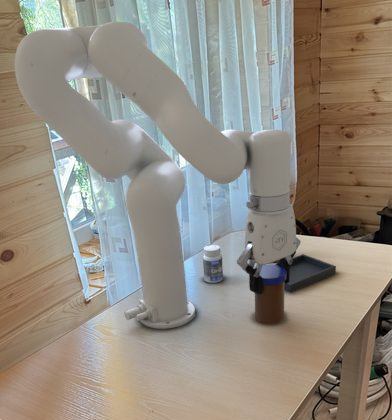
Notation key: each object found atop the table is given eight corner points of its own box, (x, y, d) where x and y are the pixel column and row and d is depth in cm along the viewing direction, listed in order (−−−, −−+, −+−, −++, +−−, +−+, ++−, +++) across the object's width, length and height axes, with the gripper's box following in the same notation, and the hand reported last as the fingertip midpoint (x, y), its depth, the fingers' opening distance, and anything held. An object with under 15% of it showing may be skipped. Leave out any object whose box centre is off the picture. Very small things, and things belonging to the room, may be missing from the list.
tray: (290, 292, 120) (290, 284, 119) (258, 278, 128) (258, 270, 127) (335, 273, 127) (336, 266, 126) (302, 261, 135) (302, 253, 134)
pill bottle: (213, 285, 126) (211, 252, 122) (200, 279, 129) (198, 248, 125) (227, 278, 129) (225, 246, 124) (214, 273, 132) (212, 242, 127)
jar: (268, 327, 107) (268, 282, 102) (249, 316, 111) (248, 273, 106) (290, 317, 110) (291, 273, 104) (270, 307, 114) (270, 264, 109)
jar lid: (268, 288, 102) (268, 281, 101) (246, 278, 107) (245, 271, 106) (293, 278, 105) (293, 271, 104) (270, 268, 110) (270, 261, 109)
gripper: (247, 216, 91) (249, 306, 100) (316, 194, 99) (312, 279, 108) (221, 208, 96) (225, 293, 105) (289, 187, 104) (287, 269, 113)
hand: (269, 286), depth 107 cm, fingers closed on jar lid, 6 cm apart
